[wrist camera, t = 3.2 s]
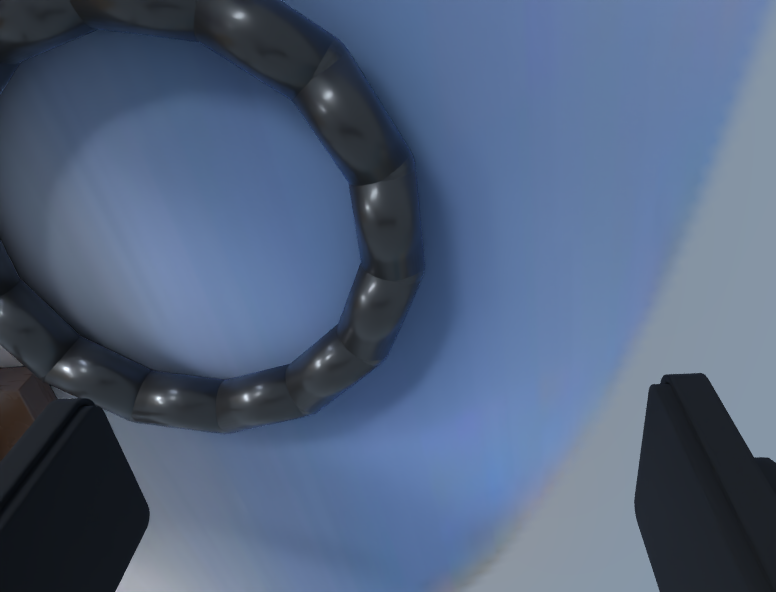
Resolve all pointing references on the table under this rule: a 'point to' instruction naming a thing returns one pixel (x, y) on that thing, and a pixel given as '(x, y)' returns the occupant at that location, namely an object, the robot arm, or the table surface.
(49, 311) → the beaded ring
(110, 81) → the table surface
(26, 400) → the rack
